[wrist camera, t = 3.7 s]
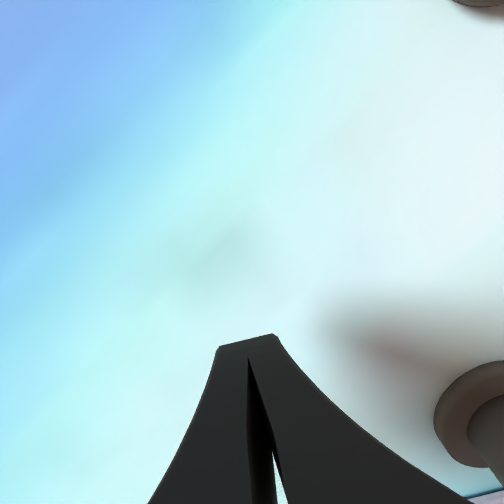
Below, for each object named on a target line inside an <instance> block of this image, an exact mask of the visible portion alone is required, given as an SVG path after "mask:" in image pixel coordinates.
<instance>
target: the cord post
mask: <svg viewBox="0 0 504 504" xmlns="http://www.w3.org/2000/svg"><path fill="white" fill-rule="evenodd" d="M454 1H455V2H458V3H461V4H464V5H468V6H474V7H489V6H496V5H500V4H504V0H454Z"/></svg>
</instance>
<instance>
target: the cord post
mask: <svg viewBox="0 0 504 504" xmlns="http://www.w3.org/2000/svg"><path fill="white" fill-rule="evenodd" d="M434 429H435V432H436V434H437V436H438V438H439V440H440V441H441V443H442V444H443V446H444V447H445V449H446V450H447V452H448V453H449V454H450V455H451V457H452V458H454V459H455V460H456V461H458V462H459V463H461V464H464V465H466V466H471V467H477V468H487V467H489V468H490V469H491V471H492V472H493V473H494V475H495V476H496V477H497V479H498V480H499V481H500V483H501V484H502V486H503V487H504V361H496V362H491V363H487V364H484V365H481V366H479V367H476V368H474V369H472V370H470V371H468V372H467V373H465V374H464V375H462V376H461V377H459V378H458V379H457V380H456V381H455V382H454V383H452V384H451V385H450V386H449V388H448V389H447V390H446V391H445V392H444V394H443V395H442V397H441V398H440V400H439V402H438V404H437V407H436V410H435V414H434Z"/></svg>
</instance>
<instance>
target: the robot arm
mask: <svg viewBox="0 0 504 504" xmlns="http://www.w3.org/2000/svg"><path fill="white" fill-rule="evenodd" d="M272 452H273V455H272ZM273 456H274V459H275V462H276V465H277V469H278V472H279V475H280V478H281V482H282V485H283V488H284V492H285V495H286V498H287V501H288V504H504V490H503V491H499V492H495V493H491V494H487V495H483V496H479V497H475V498H471V499H466V498H464V497H462V496H460V495H459V494H457V493H456V492H454V491H452V490H451V489H449V488H448V487H446V486H445V485H443V484H441V483H440V482H438V481H437V480H435V479H434V478H432V477H430V476H429V475H427V474H426V473H424V472H423V471H421V470H419V469H418V468H416V467H415V466H413V465H412V464H410V463H408V462H407V461H406V460H404V459H403V458H401V457H400V456H399V455H397V454H396V453H394V452H393V451H392V450H390V449H389V448H388V447H386V446H385V445H383V444H382V443H381V442H379V441H378V440H377V439H376V438H374V437H373V436H372V435H370V434H369V433H368V432H367V431H365V430H364V429H363V428H362V427H360V426H359V425H358V424H357V423H356V422H354V421H353V420H352V419H351V418H350V417H349V416H347V415H346V414H345V413H344V412H343V411H342V410H341V409H340V408H339V407H338V406H336V405H335V404H334V403H333V402H332V401H331V400H330V399H329V398H328V397H327V396H326V395H325V394H324V393H323V392H322V391H321V390H320V389H319V388H318V387H317V386H316V385H315V384H314V383H313V382H312V381H311V380H310V379H309V377H308V376H307V375H306V374H305V373H304V372H303V371H302V370H301V369H300V367H299V366H298V365H297V364H296V363H295V361H294V360H293V359H292V358H291V356H290V355H289V354H288V352H287V351H286V350H285V348H284V347H283V345H282V344H281V342H280V340H279V338H278V337H277V336H276V335H274V334H272V333H271V334H267V335H263V336H259V337H255V338H251V339H247V340H243V341H238V342H234V343H230V344H226V345H222V346H219V348H218V349H217V351H216V353H215V357H214V361H213V365H212V368H211V371H210V374H209V377H208V380H207V383H206V386H205V389H204V391H203V394H202V396H201V399H200V401H199V404H198V406H197V409H196V412H195V414H194V416H193V419H192V421H191V423H190V425H189V427H188V429H187V431H186V434H185V436H184V438H183V440H182V442H181V444H180V446H179V448H178V451H177V452H176V454H175V456H174V458H173V460H172V462H171V464H170V466H169V468H168V469H167V471H166V473H165V475H164V477H163V478H162V480H161V482H160V484H159V485H158V487H157V489H156V490H155V492H154V494H153V496H152V497H151V499H150V501H149V502H148V504H278V502H277V493H276V483H275V474H274V464H273Z"/></svg>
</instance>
